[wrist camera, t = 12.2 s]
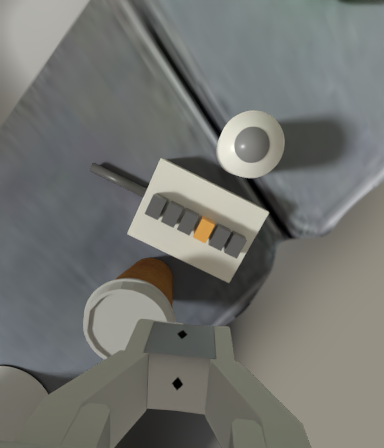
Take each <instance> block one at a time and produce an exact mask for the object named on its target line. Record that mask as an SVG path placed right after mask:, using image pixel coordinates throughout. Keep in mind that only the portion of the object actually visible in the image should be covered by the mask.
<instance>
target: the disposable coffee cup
mask: <svg viewBox="0 0 384 448" xmlns="http://www.w3.org/2000/svg"><path fill="white" fill-rule="evenodd" d="M172 296H173V276H172V272H171V270H170V268H169V267H168V266H167V265H166V264H165V263H164V262H162V261H160V260H158V259H155V258H145V259H141V260H140V261H138V262H136V263H135V264H134V265H133V266H131V267H130V268H129V269H128V270H126V271H125V272H124V273H122V274H121V275H120V276H118V277H117V278H116V279H115V280H112V281H109V282H107V283H105V284H104V285H102V286H100V287H99V288H98V289H96V290H95V291H94V292H93V293H92V295H91V296H90V298H89V299H88V301H87V304H86V306H85V311H84V319H83V329H84V334H85V337H86V340H87V341H88V343H89V345H90V347H91V348H92V349H93V350H94V351H95V352H96V353H97V354H98V355H99V356H100V357H101V358H103V359H104V360H105V359H107V358H108V357H110V356H112V355H113V354H115V353H116V352H118V351H120V350H124V351H125V349H126V346H127V344H128V342H129V340H130V337H131V335H132V333H133V331H134V329H135V326H136V324H137V322H138V320H139V319H149V320H154V321H155V320H158V321H167V322H175V315H174V311H173V309H172Z"/></svg>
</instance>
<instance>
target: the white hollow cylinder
mask: <svg viewBox="0 0 384 448" xmlns="http://www.w3.org/2000/svg"><path fill="white" fill-rule="evenodd" d="M284 146H285V139H284V133H283V131H282V128H281V126H280V125H279V123H278V122H277V121H276V120H275V119H274V118H273V117H272V116H270V115H269V114H267V113H265V112H261V111H246V112H243V113H240V114H238V115H236V116H235V117H233V118H232V119H231V120H230V121H229V122H228V123H227V124H226V126H225V127H224V129H223V131H222V133H221V136H220V138H219V140H218V143H217V146H216V157H217V160H218V163H219V164H220V166H221V167H222V168H223V169H224V170H225V171H226V172H228V173H230V174H233V175H237V176H240V177H244V178H256V177H260V176H263V175H265V174H267V173H268V172H270V171H271V170H272V169H273V168H274V167H275V166H276V165H277V164H278V163H279V161H280V159H281V157H282V155H283V152H284Z"/></svg>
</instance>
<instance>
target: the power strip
mask: <svg viewBox="0 0 384 448" xmlns="http://www.w3.org/2000/svg"><path fill="white" fill-rule="evenodd" d="M90 171H91V172H93V173H95V174H97V175H99V176H101V177H103V178H105V179H107V180H109V181H111V182H113V183H115V184H117V185H119V186H121V187H123V188H125V189H127V190H129V191H131V192H134V193H136V194H138V195H140V196H142V197H143V199H142V202H141V204H140V206H139V208H138V211H137V213H136V215H135V217H134V220H133V222H132V224H131V226H130V229H129V231H128V233H127V234H128V235H130V236H132V237H134V238H136V239H138V240H140V241H143V242H145V243H147V244H149V245H151V246H153V247H155V248H157V249H159V250H161V251H163V252H165V253H167V254H170V255H172V256H174V257H176V258H178V259H180V260H182V261H184V262H186V263H188V264H190V265H192V266H194V267H197V268H199V269H201V270H203V271H205V272H207V273H209V274H211V275H213V276H215V277H217V278H219V279H221V280H224V281H226V282H228V283H230V281H231V279H232V277H233V275H234V274H235V272H236V270H237V268H238V267H239V265H240V263H241V261H242V260H243V258H244V256H245V254H246V253H247V251H248V249H249V247H250V246H251V244H252V242H253V240H254V239H255V237H256V235H257V233H258V231H259V230H260V228H261V226H262V224H263V223H264V221H265V219H266V217H267V216H268V214H269V212H268V211H267V210H265V209H264V208H263V207H261V206H259V205H257V204H255V203H253V202H251V201H249V200H247V199H245V198H243V197H241V196H239V195H237V194H235V193H233V192H231V191H229V190H227V189H225V188H223V187H221V186H219V185H217V184H215V183H213V182H211V181H209V180H207V179H205V178H203V177H201V176H199V175H197V174H195V173H193V172H191V171H189V170H187V169H185V168H183V167H181V166H179V165H177V164H175V163H173V162H171V161H169V160H167V159H162V158H161V159H160V161H159V163H158V166H157V168H156V170H155V172H154V175H153V177H152V179H151V181H150V184H149V186H148V188H147V189H146V188H144V187H142V186H140V185H138V184H136V183H134V182H132V181H130V180H128V179H126V178H124V177H122V176H120V175H118V174H116V173H114V172H112V171H110V170H108V169H106V168H104V167H102V166H100V165H98V164H96V163H93V164H92V165H91V167H90Z"/></svg>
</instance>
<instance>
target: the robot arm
mask: <svg viewBox="0 0 384 448" xmlns="http://www.w3.org/2000/svg"><path fill="white" fill-rule="evenodd" d="M146 408H147V409H161V410H175V411H183V412H191V413H197V414H205V417H206V419H207V421H208V423H209V424H210V427H211V429H212V430H213V432H214V434H215V436H216V438H217V440H218V442H219V444H220V446H221V447H222V448H311V445H310V443H309V440H308V437H307V435H306V432H305V430H304V427H303V425H302V423H301V422H300V421H299V420H298V419H297V418H296V417H295V416H294V415H293V414H292V413H291V412H290V411H289V410H288V409H287V408H286V407H285V406H284V405H283V404H282V403H281V402H280V401H279V400H278V399H277V398H276V397H275V396H274V395H273V394H272V393H271V392H270V391H269V390H268V389H267V388H265V387H264V385H263V384H261V383H260V382H259V380H257V379H256V378H255V377H254V376H253V375H252V374H251V373H250V372H249V371H248V370H247V369H246V368H245V367H244V366H243V365H242V364H241V363H240V362H237V361H235V358H234V352H233V345H232V339H231V333H230V328H229V327H226V326H206V325H192V324H184V323H175V322H167V321H158V320H155V321H154V320H149V319H139V320H138V322H137V324H136V326H135V329H134V331H133V333H132V335H131V337H130V340H129V342H128V344H127V346H126V349H125V351H124V350H120V351H118V352H116V353H115V354H113V355H112V356H110V357H108V358H107V359H105V360H103V361H102V362H100V363H99V364H97V365H95V366H94V367H92V368H91V369H89V370H87V371H86V372H84V373H82V374H81V375H79V376H78V377H76V378H74V379H73V380H71V381H70V382H68V383H66V384H65V385H63V386H61V387H60V388H58V389H57V390H55V391H53V392H52V393H50V394H49V395H48V393H47V391H46V390H45V388H44V387H43V386H42V385H41V384H40V383H39V382H38V381H37V380H36V379H35V378H34V377H32V376H31V375H29V374H28V373H26V372H24V371H22V370H19V369H16V368H13V367H7V366H0V448H114V447H115V446H116V445H117V443H118V442H119V441H120V440H121V439H122V438H123V436H124V435H125V434H126V433H127V432H128V431H129V430H130V429H131V427H132V426H133V425H134V424H135V423H136V422H137V420H138V419H139V418H140V417H141V416H142V415H143V413H144V412H145V411H146Z"/></svg>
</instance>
